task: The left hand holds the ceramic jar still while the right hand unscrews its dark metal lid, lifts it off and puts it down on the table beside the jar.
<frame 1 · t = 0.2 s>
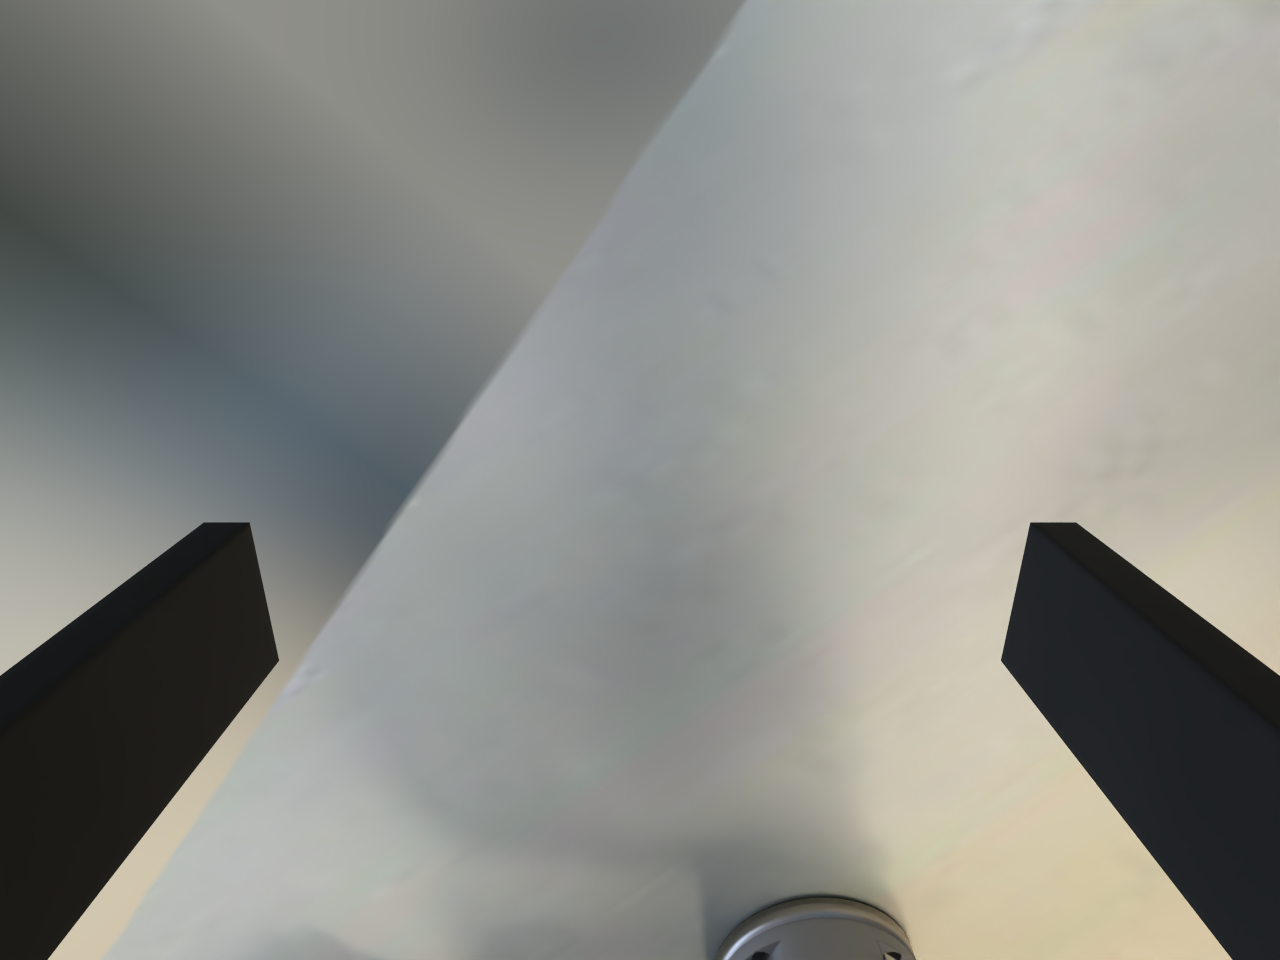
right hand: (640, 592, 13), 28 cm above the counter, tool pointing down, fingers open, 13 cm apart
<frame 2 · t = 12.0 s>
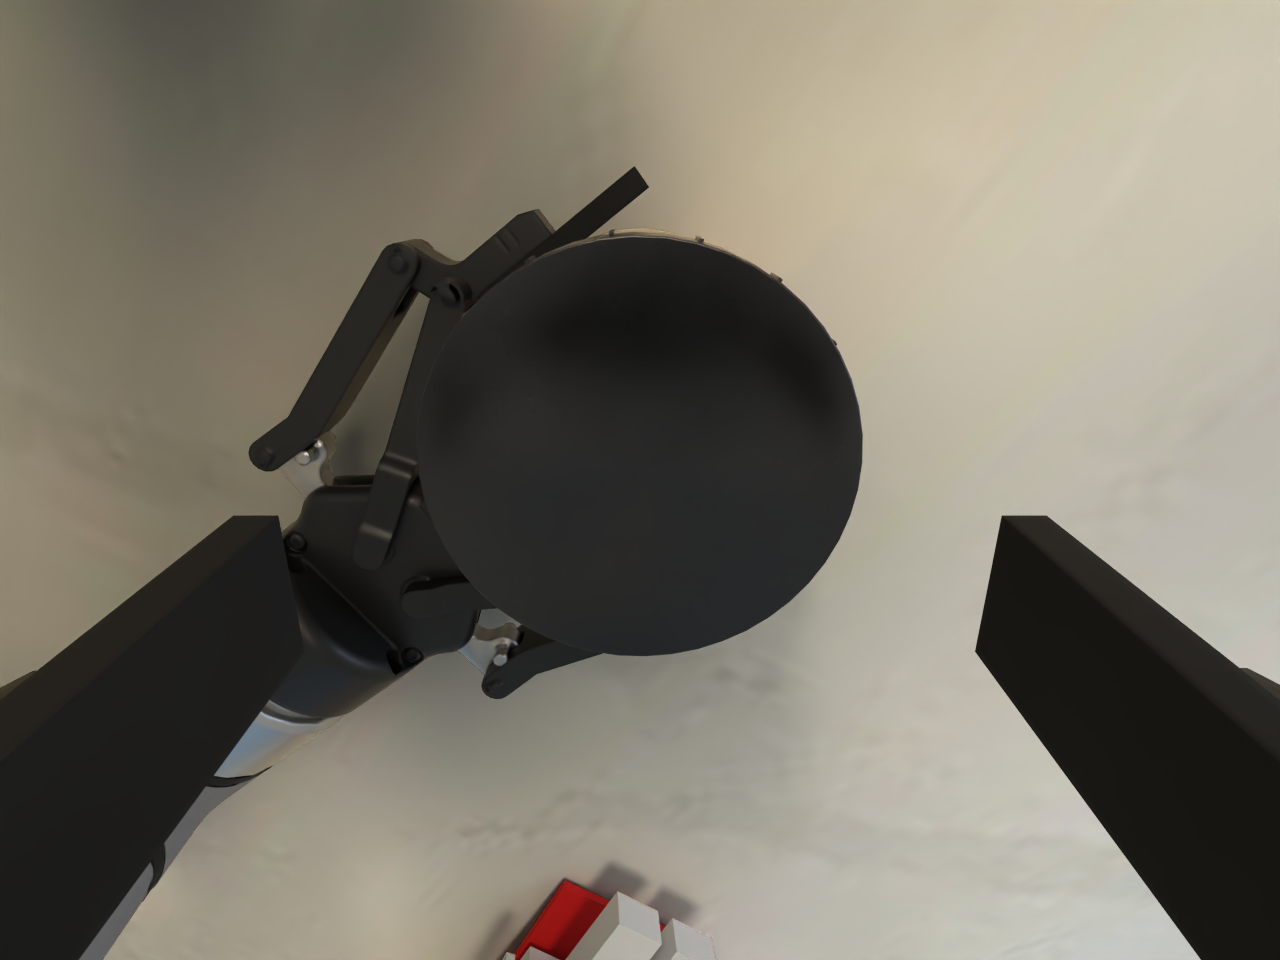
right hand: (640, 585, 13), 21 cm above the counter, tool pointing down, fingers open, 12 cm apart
lid: (639, 464, 19), point 15 cm above the counter, screwed on, not yet turned
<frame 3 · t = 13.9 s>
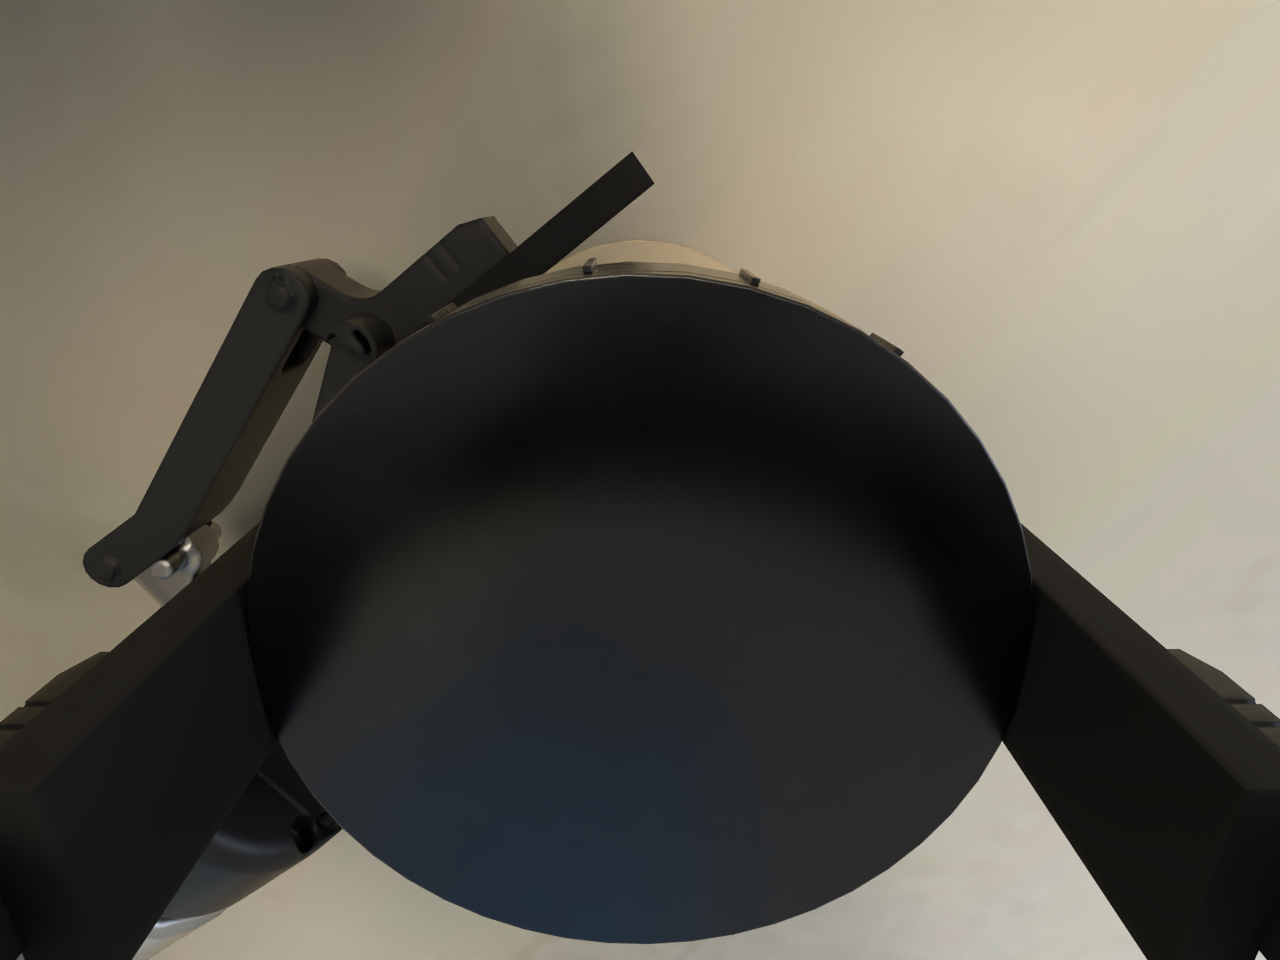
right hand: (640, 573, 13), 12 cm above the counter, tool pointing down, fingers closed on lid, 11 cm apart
lid: (639, 659, 11), point 15 cm above the counter, screwed on, not yet turned, touching right hand
jar: (640, 399, 24), on the counter, touching left hand
when the right hand's fingers open (12 cm above the counter, at t = 15.8 s): lid stays where it is, point 15 cm above the counter.
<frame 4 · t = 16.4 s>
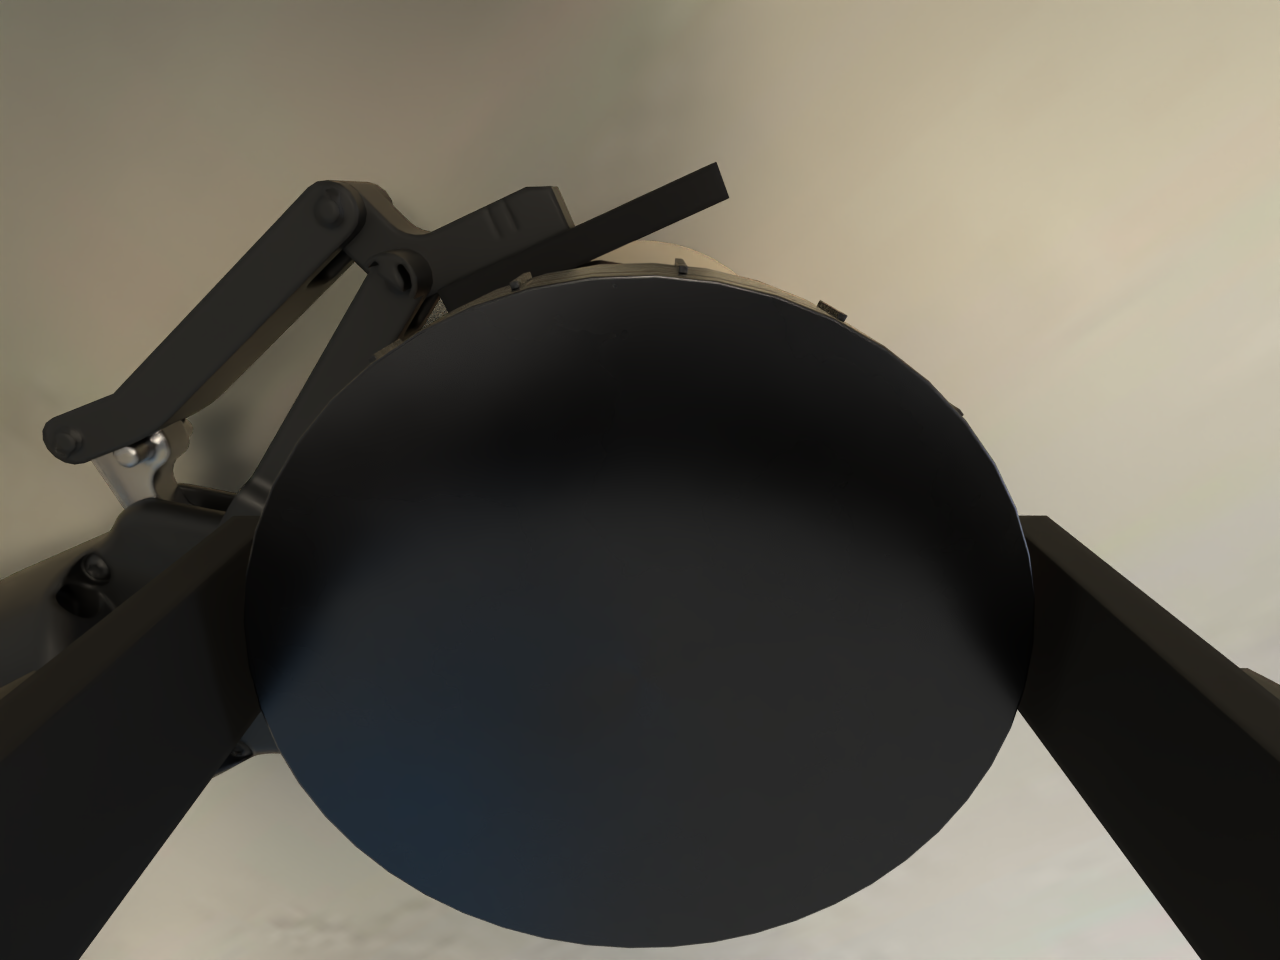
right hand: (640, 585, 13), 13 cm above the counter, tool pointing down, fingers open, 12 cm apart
lid: (639, 662, 11), point 15 cm above the counter, turned 108° so far, risen 0.2 cm, still on its thread
jar: (639, 398, 25), on the counter, touching left hand
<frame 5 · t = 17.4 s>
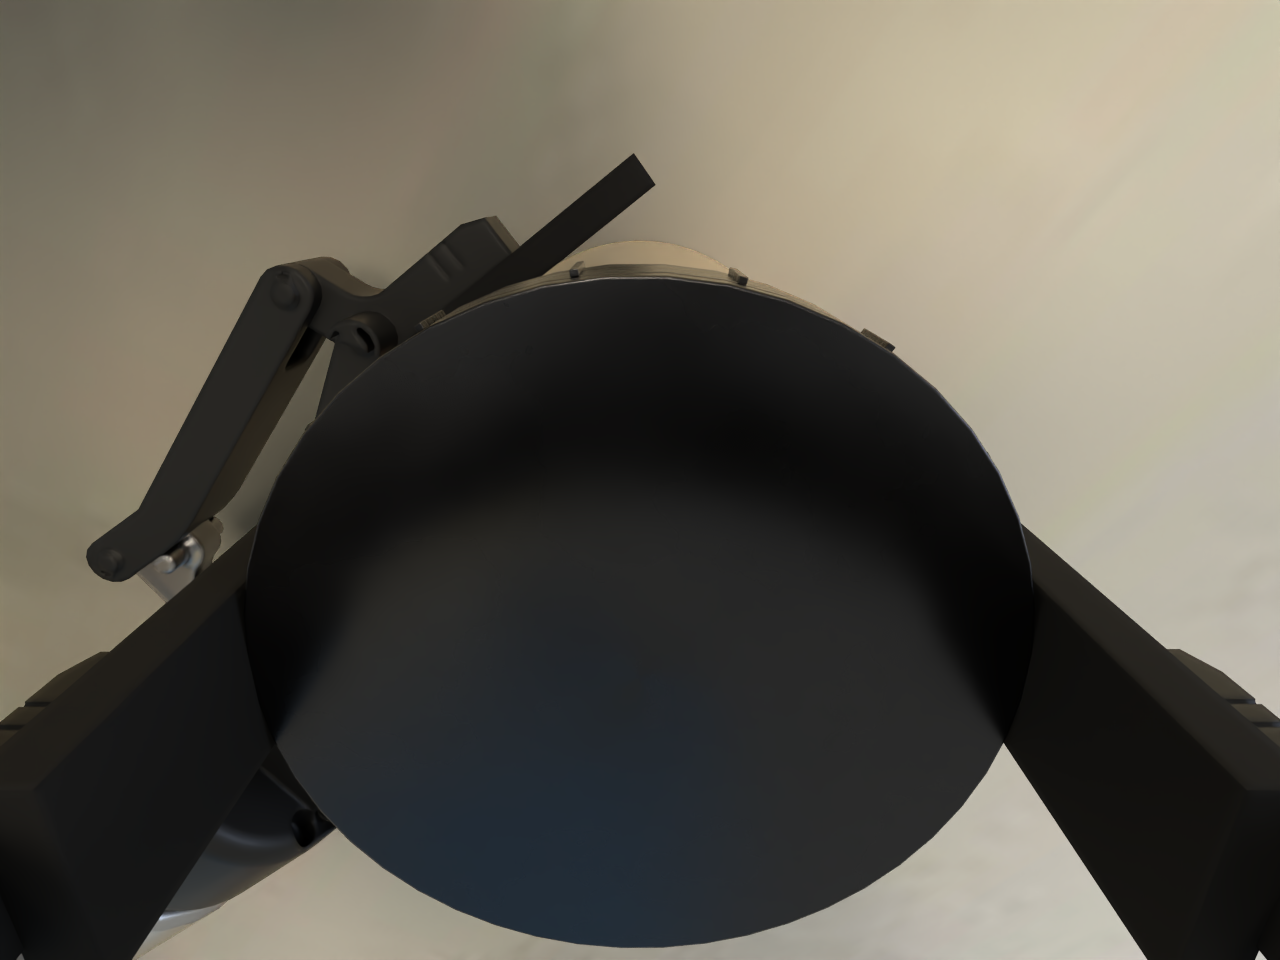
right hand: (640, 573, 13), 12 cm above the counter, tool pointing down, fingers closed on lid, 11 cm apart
lid: (639, 662, 11), point 15 cm above the counter, turned 108° so far, risen 0.2 cm, still on its thread, touching right hand
jar: (639, 398, 25), on the counter, touching left hand
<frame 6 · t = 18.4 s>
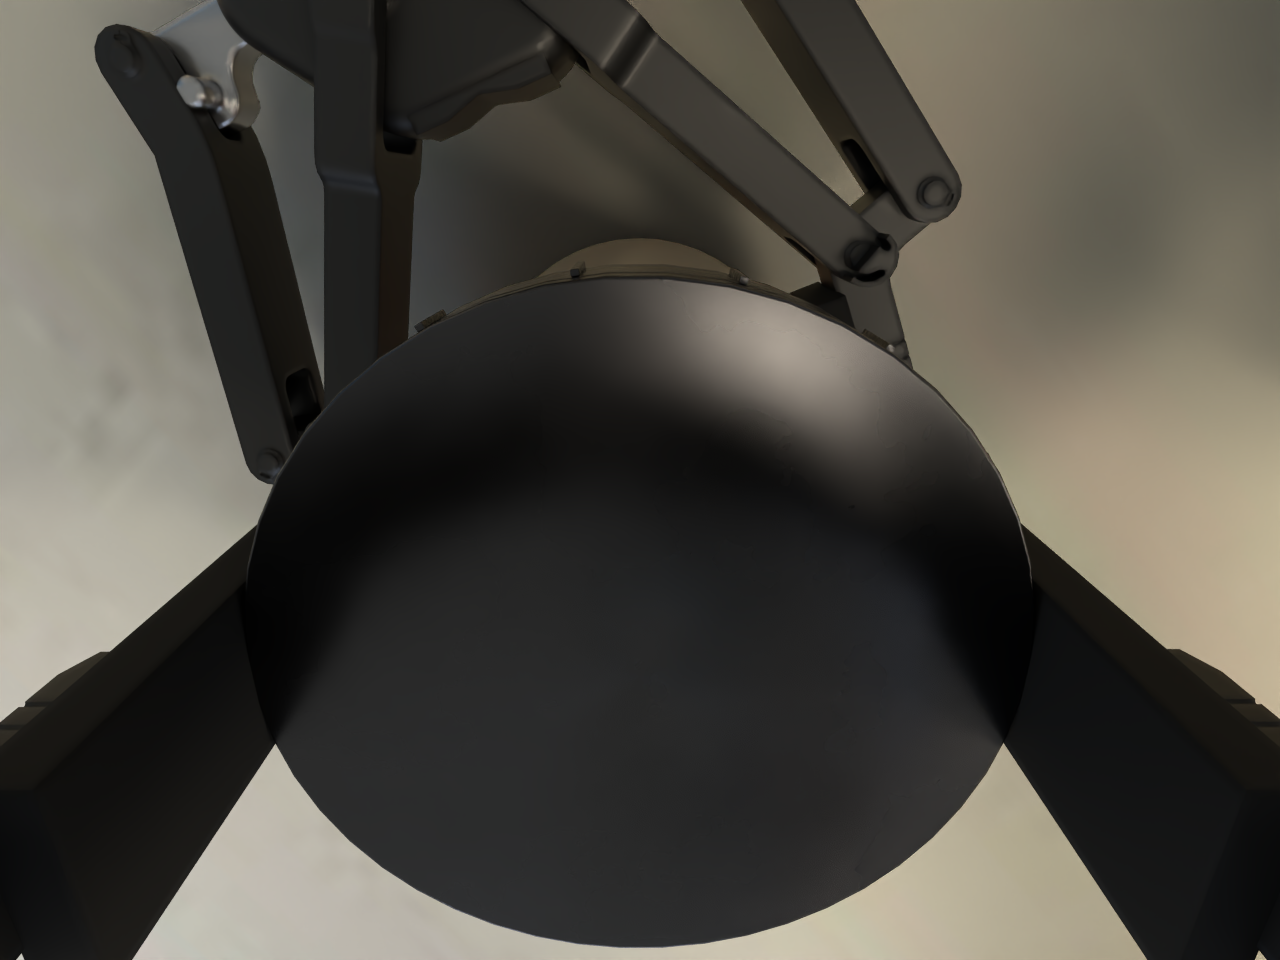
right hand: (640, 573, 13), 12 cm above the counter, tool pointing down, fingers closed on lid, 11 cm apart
lid: (639, 662, 11), point 15 cm above the counter, off its thread, touching right hand
jar: (639, 395, 25), on the counter, touching left hand
when the right hand's fingers open (0 cm above the counter, at t = 23.5 s): lid drops 2 cm, point 1 cm above the counter.
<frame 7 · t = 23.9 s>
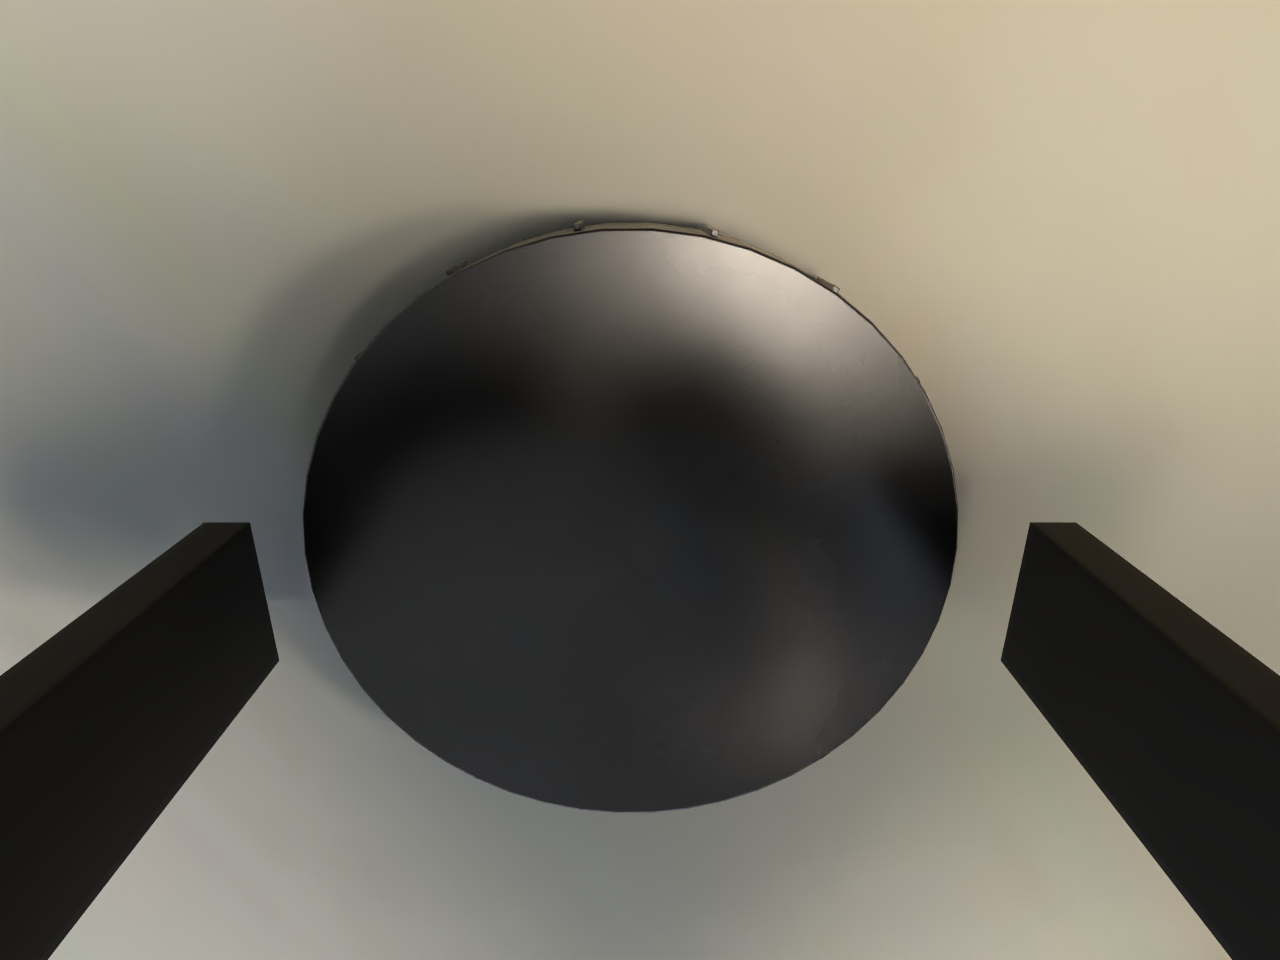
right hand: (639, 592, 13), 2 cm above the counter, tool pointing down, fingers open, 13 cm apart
lid: (631, 559, 13), point 1 cm above the counter, off its thread
when the left hand's fingers open (6 cm above the counter, at t = 24.6 s): jar stays where it is, on the counter.
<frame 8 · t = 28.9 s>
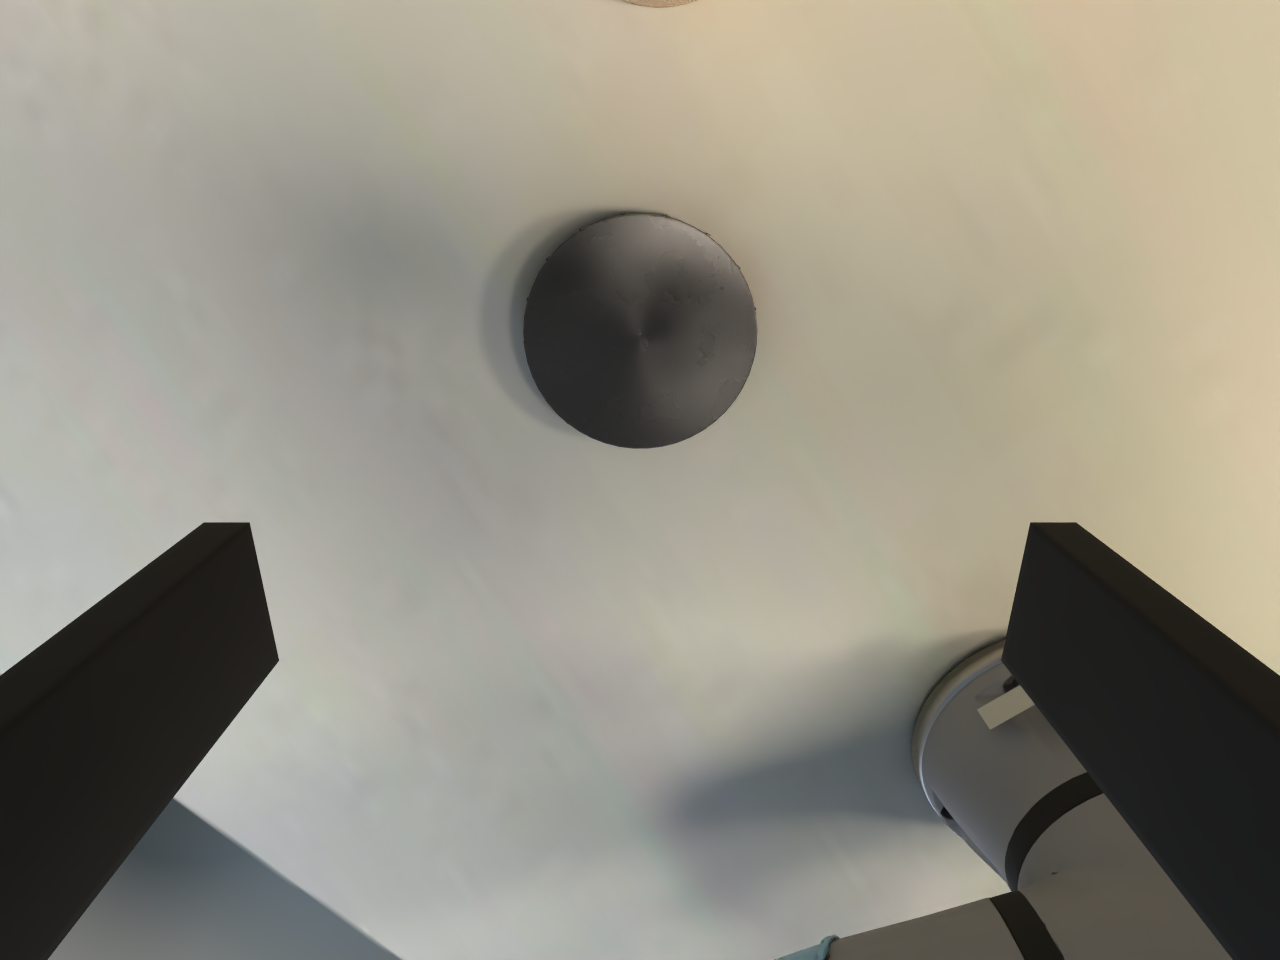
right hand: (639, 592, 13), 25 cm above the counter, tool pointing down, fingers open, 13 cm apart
lid: (640, 336, 35), point 1 cm above the counter, off its thread
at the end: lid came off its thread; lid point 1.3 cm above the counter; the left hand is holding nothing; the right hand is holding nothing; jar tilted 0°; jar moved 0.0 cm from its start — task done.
